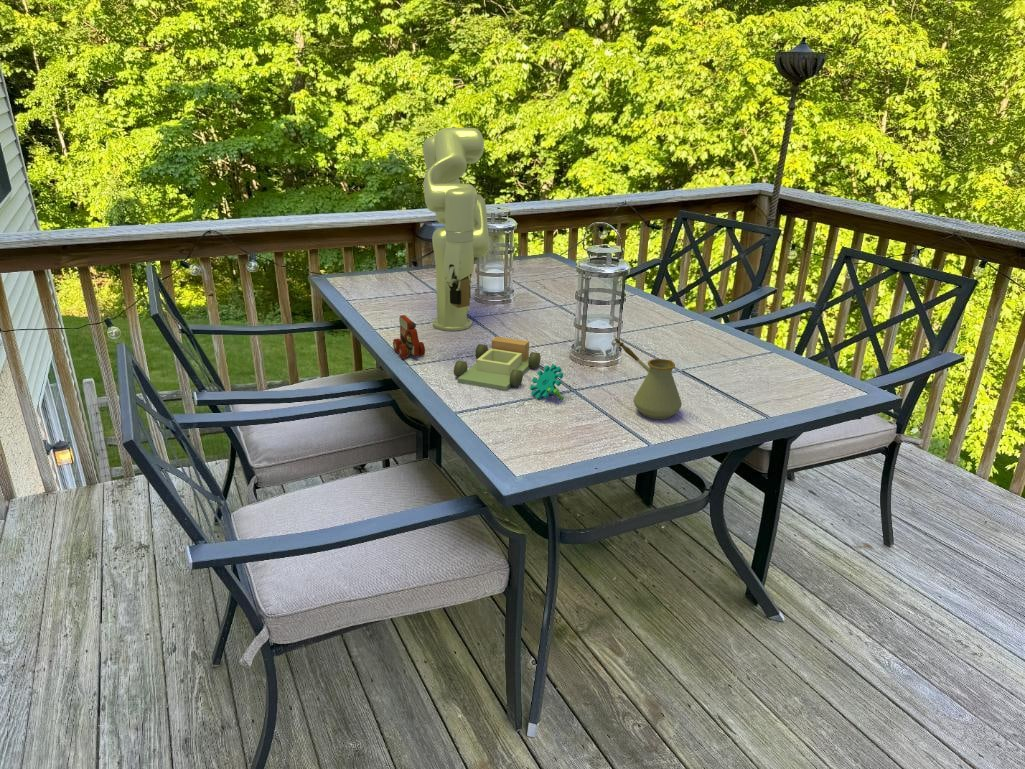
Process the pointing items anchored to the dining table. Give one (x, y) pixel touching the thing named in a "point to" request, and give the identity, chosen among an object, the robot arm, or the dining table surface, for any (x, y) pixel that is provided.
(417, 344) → the red toy vehicle
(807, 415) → the dining table surface
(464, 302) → the wooden block
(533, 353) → the chassis
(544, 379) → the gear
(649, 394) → the coffee pot
